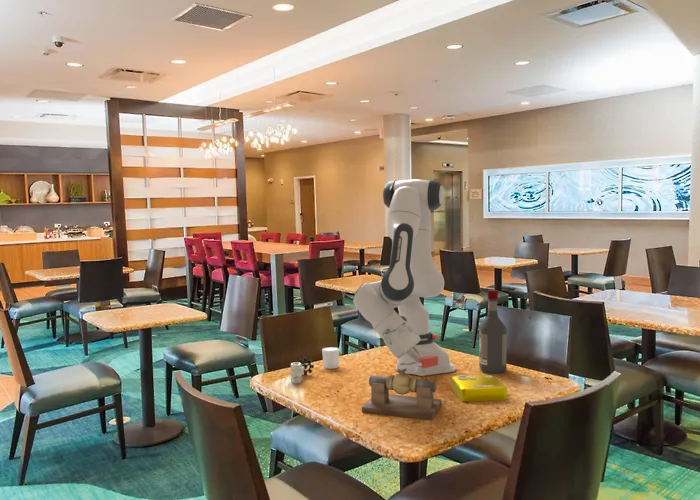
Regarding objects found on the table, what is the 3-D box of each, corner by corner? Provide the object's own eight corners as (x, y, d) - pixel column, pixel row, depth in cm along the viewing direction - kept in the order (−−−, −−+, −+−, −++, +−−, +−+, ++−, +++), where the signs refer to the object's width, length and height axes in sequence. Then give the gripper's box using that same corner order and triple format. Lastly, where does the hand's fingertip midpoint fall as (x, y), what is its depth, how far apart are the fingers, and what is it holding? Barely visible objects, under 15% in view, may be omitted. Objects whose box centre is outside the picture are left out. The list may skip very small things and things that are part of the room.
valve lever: (432, 363, 175) (432, 354, 175) (438, 365, 173) (438, 356, 173) (395, 371, 167) (395, 362, 167) (401, 373, 164) (401, 364, 164)
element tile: (461, 403, 172) (461, 387, 172) (449, 388, 187) (449, 374, 187) (509, 401, 173) (509, 386, 173) (493, 386, 188) (493, 372, 188)
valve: (303, 384, 193) (314, 375, 204) (302, 365, 192) (314, 357, 204) (285, 383, 195) (297, 373, 206) (285, 364, 194) (297, 356, 206)
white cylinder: (326, 369, 211) (326, 351, 210) (319, 365, 217) (319, 348, 216) (342, 367, 214) (342, 349, 213) (335, 363, 220) (334, 346, 220)
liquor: (502, 366, 212) (502, 288, 210) (507, 373, 202) (507, 292, 201) (478, 366, 212) (478, 289, 211) (482, 373, 203) (482, 292, 202)
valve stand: (376, 397, 177) (375, 362, 177) (441, 404, 170) (441, 367, 169) (361, 411, 164) (361, 374, 164) (431, 419, 157) (431, 380, 156)
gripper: (387, 326, 166) (419, 361, 163) (406, 315, 185) (434, 347, 182) (373, 339, 168) (404, 375, 165) (393, 327, 187) (421, 359, 184)
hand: (420, 360), depth 174 cm, fingers closed
